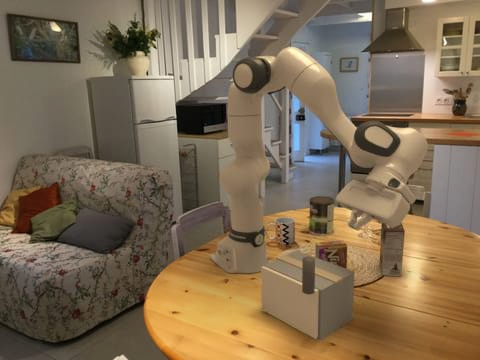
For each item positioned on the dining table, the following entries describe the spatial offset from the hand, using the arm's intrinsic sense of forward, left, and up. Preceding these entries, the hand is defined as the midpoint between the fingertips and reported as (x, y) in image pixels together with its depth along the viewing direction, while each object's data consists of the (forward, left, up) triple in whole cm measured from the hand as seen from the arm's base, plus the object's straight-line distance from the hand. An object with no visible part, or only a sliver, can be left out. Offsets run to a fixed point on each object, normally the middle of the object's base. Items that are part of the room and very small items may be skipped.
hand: (352, 227), depth 105 cm
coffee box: (-9, +37, -28) cm, 47 cm away
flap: (-11, -13, -26) cm, 31 cm away
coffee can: (-48, +50, -28) cm, 75 cm away
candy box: (-15, +12, -28) cm, 34 cm away
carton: (-11, -4, -27) cm, 30 cm away
